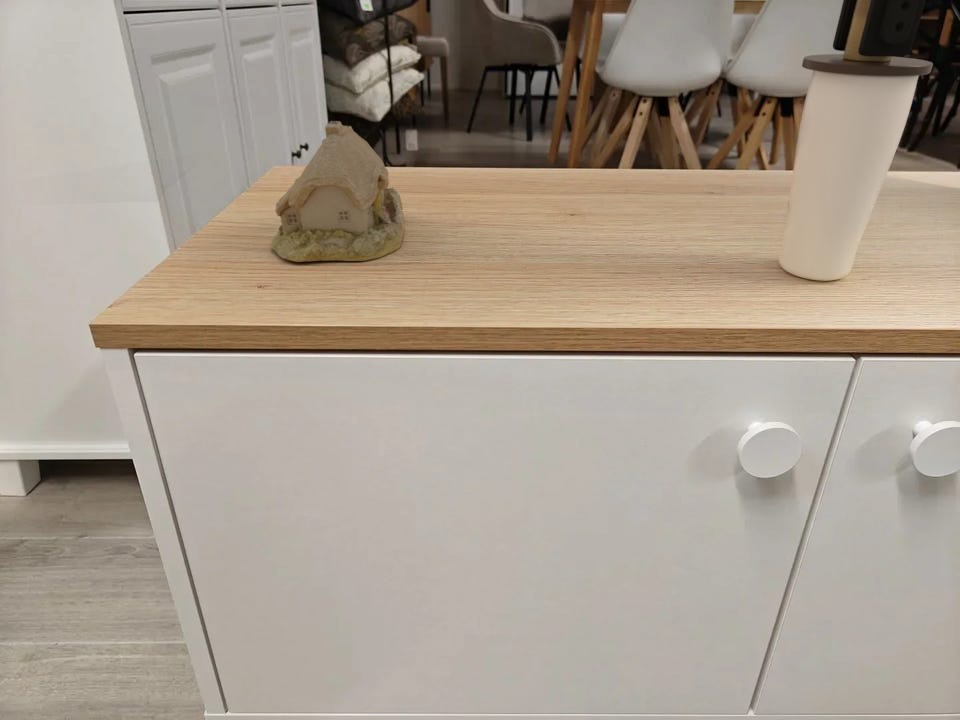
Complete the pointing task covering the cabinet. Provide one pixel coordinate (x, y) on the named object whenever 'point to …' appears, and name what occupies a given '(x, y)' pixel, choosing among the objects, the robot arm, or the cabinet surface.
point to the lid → (861, 64)
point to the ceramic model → (340, 204)
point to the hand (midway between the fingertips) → (869, 50)
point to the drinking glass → (841, 168)
